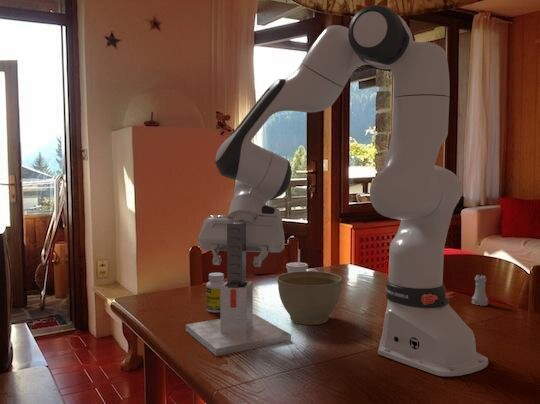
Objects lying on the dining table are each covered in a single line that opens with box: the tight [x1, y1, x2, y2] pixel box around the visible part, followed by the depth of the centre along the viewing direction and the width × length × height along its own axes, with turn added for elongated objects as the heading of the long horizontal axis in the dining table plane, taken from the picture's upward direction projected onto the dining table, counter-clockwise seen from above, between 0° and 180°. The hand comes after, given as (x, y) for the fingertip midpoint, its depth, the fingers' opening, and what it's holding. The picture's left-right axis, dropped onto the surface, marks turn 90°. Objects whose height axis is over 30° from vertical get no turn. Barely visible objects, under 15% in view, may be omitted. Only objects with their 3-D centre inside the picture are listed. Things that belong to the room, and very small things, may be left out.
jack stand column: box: [226, 222, 247, 287], centre depth 117 cm, size 4×4×24 cm
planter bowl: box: [276, 270, 343, 326], centre depth 130 cm, size 16×16×11 cm
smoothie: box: [285, 249, 309, 273], centre depth 151 cm, size 6×6×14 cm
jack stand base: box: [185, 280, 292, 357], centre depth 117 cm, size 18×18×13 cm
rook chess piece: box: [471, 274, 489, 307], centre depth 144 cm, size 4×4×8 cm
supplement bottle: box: [205, 272, 226, 313], centre depth 138 cm, size 5×5×10 cm
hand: (236, 264), depth 116 cm, fingers open, 8 cm apart
